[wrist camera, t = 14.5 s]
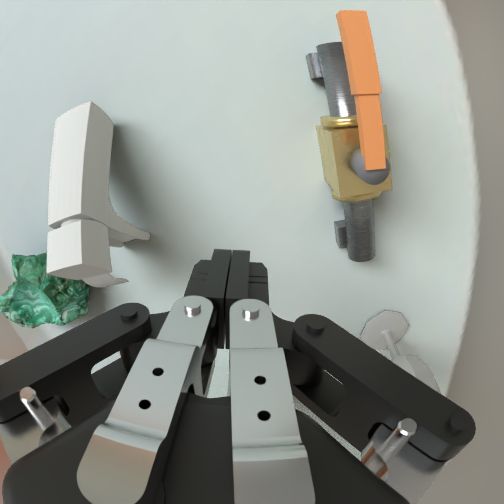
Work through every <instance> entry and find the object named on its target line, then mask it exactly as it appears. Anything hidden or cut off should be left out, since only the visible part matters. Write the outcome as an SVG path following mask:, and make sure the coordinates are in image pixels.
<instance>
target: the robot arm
mask: <svg viewBox="0 0 504 504" xmlns="http://www.w3.org/2000/svg"><path fill="white" fill-rule="evenodd" d="M249 259H250V251H245V250H233V252H232V250H224V249H214V252H213V256H212V259H211V260H200V261H199V262H198V263H197V264H196V265H194V268H193V271H192V274H191V277H190V280H189V282H188V285H187V288H186V291H185V294H184V297H183V298H180V299H178V300H177V301H176V302H175V303H174V304H173V306H172V308H171V310H170V311H169V312H165V313H158V314H150V313H149V310H148V308H147V307H146V306H144V305H142V304H139V303H126V304H122V305H120V306H118V307H116V308H114V309H112V310H110V311H108V312H106V313H104V314H102V315H100V316H98V317H96V318H94V319H92V320H90V321H87V322H85V323H83V324H81V325H79V326H77V327H75V328H73V329H71V330H69V331H67V332H65V333H63V334H61V335H59V336H57V337H56V338H54V339H52V340H50V341H48V342H46V343H44V344H42V345H40V346H38V347H36V348H34V349H32V350H30V351H28V352H26V353H24V354H22V355H20V356H18V357H16V358H14V359H12V360H10V361H8V362H6V363H4V364H2V365H0V439H1V441H2V443H3V446H4V448H5V450H6V453H7V455H8V457H9V459H10V462H11V464H12V465H11V467H10V468H9V469H8V471H7V473H6V475H5V478H4V481H3V486H2V495H3V502H4V504H416V503H417V502H418V500H419V499H420V498H421V497H422V495H423V494H424V493H425V491H426V490H427V489H428V487H429V486H430V485H431V483H432V482H433V481H434V479H435V478H436V476H437V475H438V473H439V472H440V470H441V469H442V468H443V467H444V466H445V465H446V464H447V463H448V462H449V461H451V460H452V459H453V458H454V457H455V456H456V455H457V454H458V453H459V452H460V451H461V450H462V449H463V448H464V447H465V446H466V445H467V444H468V443H469V442H470V441H471V440H472V439H473V437H474V435H475V430H476V427H475V422H474V420H473V418H472V416H471V415H470V414H469V413H468V412H467V411H466V410H464V409H463V408H461V407H460V406H458V405H457V404H455V403H453V402H452V401H451V400H449V399H447V398H446V397H444V396H443V395H441V394H440V393H438V392H437V391H435V390H434V389H432V388H431V387H429V386H428V385H426V384H425V383H423V382H422V381H420V380H419V379H417V378H416V377H414V376H413V375H411V374H410V373H408V372H407V371H405V370H404V369H402V368H401V367H399V366H398V365H396V364H395V363H393V362H392V361H390V360H389V359H387V358H386V357H384V356H383V355H381V354H380V353H378V352H377V351H375V350H374V349H372V348H371V347H369V346H368V345H367V344H365V343H364V342H362V341H361V340H359V339H358V338H356V337H355V336H353V335H352V334H350V333H349V332H347V331H346V330H344V329H343V328H341V327H340V326H338V325H337V324H336V323H334V322H333V321H331V320H330V319H328V318H326V317H324V316H321V315H317V314H307V315H303V316H301V317H299V318H298V319H296V321H295V323H294V322H290V321H286V320H283V319H281V318H279V317H277V316H276V315H274V314H273V313H272V311H271V308H270V307H269V293H268V275H267V268H266V267H265V266H264V265H263V264H262V263H256V262H249ZM225 335H226V349H229V382H228V393H227V397H219V398H207V395H208V391H209V387H210V383H211V379H212V375H213V371H214V367H215V357H216V354H217V348H219V349H224V343H225ZM118 351H120V355H121V358H119V359H117V360H116V361H114V362H112V363H110V364H109V365H107V366H105V367H103V368H102V369H100V370H98V371H96V372H95V373H93V374H91V370H92V368H93V366H94V365H95V364H97V363H98V362H100V361H102V360H104V359H105V358H107V357H109V356H111V355H113V354H114V353H116V352H118ZM325 370H326V371H327V372H328V373H330V374H331V375H332V376H333V377H335V378H336V379H337V380H339V381H340V382H341V383H342V384H343V385H342V384H341V383H340V382H339V381H337V380H336V379H335V378H333V377H332V376H331V375H330V374H328V373H327V372H326V371H325ZM292 394H293V395H294V396H295V397H296V398H297V399H298V400H299V401H300V402H302V403H303V404H304V405H305V406H306V407H307V408H308V409H310V410H311V411H312V412H313V413H314V414H315V415H317V416H318V417H319V418H320V419H321V420H322V421H324V422H325V423H326V424H327V425H328V426H329V427H331V428H332V429H333V430H334V431H335V432H337V433H338V434H339V435H340V436H341V437H343V438H344V439H345V440H346V441H348V442H349V443H350V444H351V445H352V446H354V447H355V448H356V449H357V450H359V451H360V452H361V461H359V460H358V459H357V458H356V457H355V456H354V455H352V454H351V453H350V452H349V451H348V450H347V449H346V448H344V447H343V446H342V445H341V444H340V443H339V442H338V441H337V440H335V439H334V438H333V437H332V436H331V435H330V434H329V433H328V432H327V431H326V430H324V429H323V428H322V427H321V426H320V425H319V424H318V423H317V422H316V421H315V420H313V419H312V418H311V417H309V416H308V415H306V414H304V413H303V412H301V411H299V410H296V409H295V407H294V402H293V396H292Z"/></svg>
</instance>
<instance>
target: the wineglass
mask: <svg viewBox="0 0 504 504" xmlns="http://www.w3.org/2000/svg"><path fill="white" fill-rule="evenodd" d="M407 327H408V323H407V321H406V320H405V318H404V316H403V315H402V313H401V312H395V311H388V310H384V311H382V312H381V313H379V314H378V315H376V316H375V317H373V318H372V319H370V320H369V321H367V323H366V325H365V327H364V329H363V331H362V333H361V335H360V338H361V339H362V340H363V342H364V343H365V344H367V345H368V346H369V347H371V348H372V349H384V350H385V349H386V348H388V349H389V351H390V353H391V356H392V358H393V360H392V362H393V363H395V364H396V365H398V366H399V367H401V368H402V369H404V370H405V371H407V372H408V373H410V374H411V375H413V376H414V377H416V378H417V379H419V380H420V381H422V382H423V383H425V384H426V385H428V386H429V387H431V388H432V389H434V390H435V391H437V392H438V393H440V389H439V386H438V384H437V382H436V380H435V378H434V376H433V374H432V373H431V371H430V369H429V368H428V366H427V365H426V364H425V363H424V362H423V361H422V360H421V359H420V358H419V357H418V356H414V355H400V354H399V352H398V349H397V347H396V345H395V343H396V342H397V341H399V340H400V339H401V337H402V336H403V334H404V332H405V331H406V329H407ZM440 394H441V393H440Z"/></svg>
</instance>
